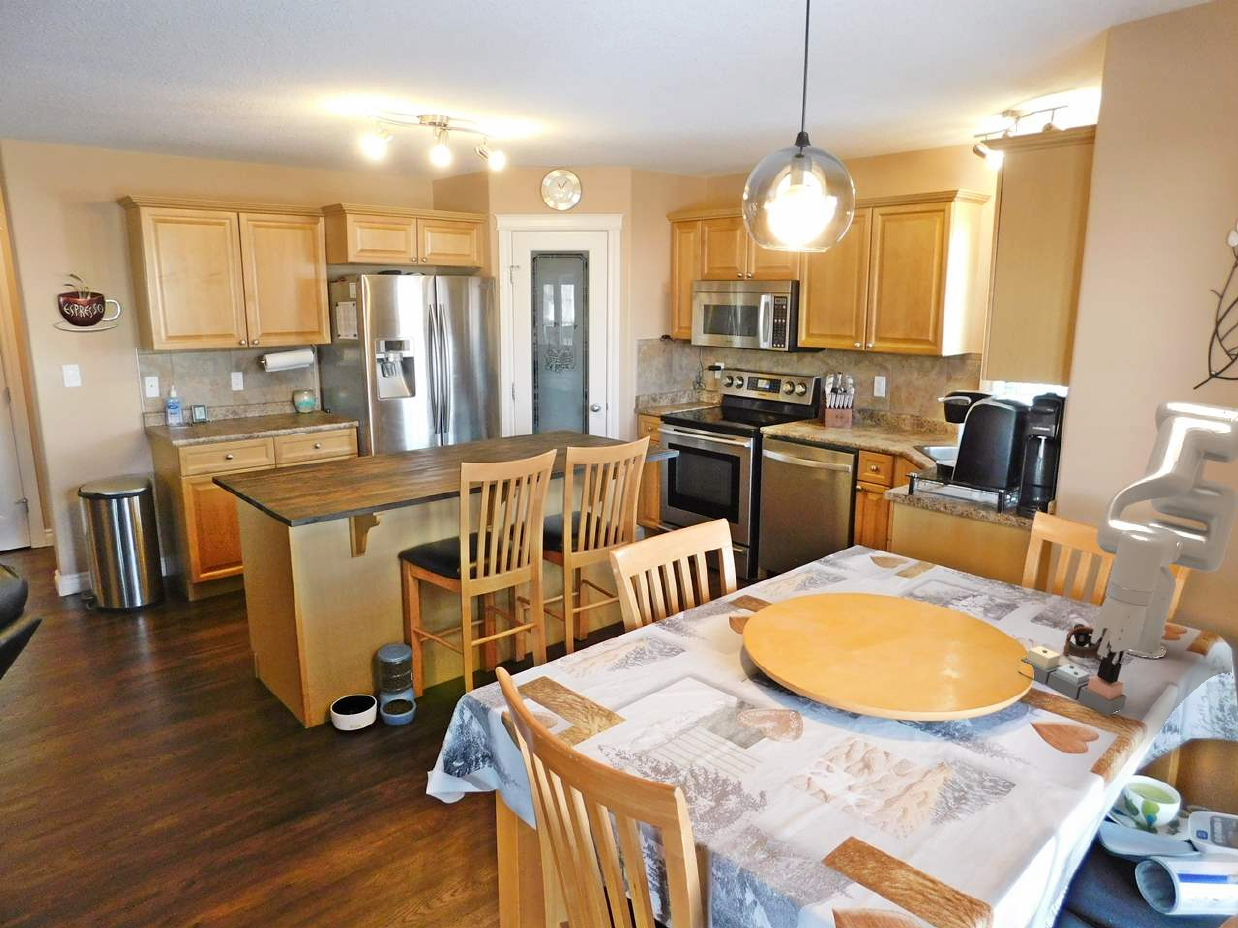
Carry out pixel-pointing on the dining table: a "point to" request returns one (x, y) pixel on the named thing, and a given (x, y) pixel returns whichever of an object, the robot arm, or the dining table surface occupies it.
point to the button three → (1105, 688)
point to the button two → (1073, 674)
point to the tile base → (1101, 701)
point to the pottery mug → (1081, 643)
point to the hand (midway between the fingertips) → (1106, 679)
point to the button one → (1043, 657)
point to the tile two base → (1065, 686)
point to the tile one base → (1041, 672)
